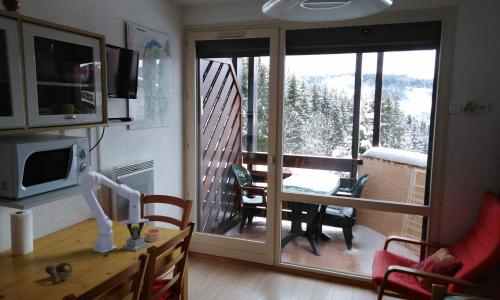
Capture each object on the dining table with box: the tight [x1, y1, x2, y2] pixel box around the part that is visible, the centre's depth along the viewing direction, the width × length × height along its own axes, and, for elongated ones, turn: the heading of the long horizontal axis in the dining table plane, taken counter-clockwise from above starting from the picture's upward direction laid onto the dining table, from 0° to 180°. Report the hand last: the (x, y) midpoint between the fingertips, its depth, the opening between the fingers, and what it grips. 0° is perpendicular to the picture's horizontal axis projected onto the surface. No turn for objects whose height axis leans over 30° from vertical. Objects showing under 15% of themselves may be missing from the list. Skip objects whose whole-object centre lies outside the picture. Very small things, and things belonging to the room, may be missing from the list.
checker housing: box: [122, 235, 150, 252], centre depth 207 cm, size 10×10×5 cm
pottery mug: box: [44, 261, 74, 283], centre depth 168 cm, size 12×10×8 cm
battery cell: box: [132, 225, 139, 241], centre depth 206 cm, size 4×4×8 cm
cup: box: [144, 228, 162, 243], centre depth 219 cm, size 9×9×5 cm
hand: (135, 236), depth 206 cm, fingers closed on battery cell, 4 cm apart
